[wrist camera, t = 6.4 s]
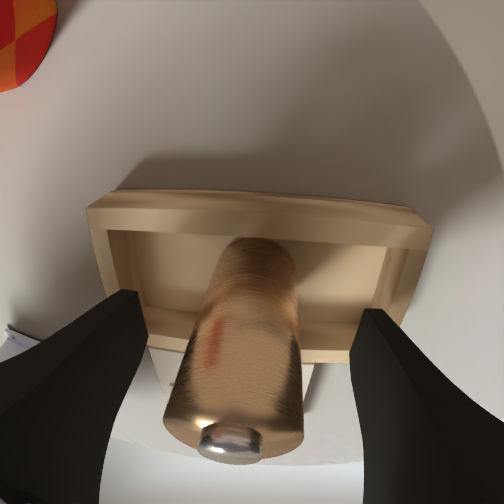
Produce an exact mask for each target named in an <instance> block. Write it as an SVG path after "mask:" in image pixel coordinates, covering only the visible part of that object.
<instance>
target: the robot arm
mask: <svg viewBox="0 0 504 504" xmlns="http://www.w3.org/2000/svg"><path fill="white" fill-rule="evenodd" d="M4 333H5V335H6V337H7V340H6V341H5V343H4V344H3V345H2V346H1V348H0V504H99V491H100V483H101V476H102V470H103V464H104V459H105V455H106V450H107V446H108V442H109V438H110V435H111V431H112V428H113V424H114V421H115V418H116V416H117V413H118V411H119V408H120V406H121V404H122V402H123V399H124V397H125V395H126V393H127V391H128V388H129V386H130V384H131V382H132V380H133V378H134V375H135V373H136V371H137V369H138V367H139V364H140V362H141V360H142V356H143V353H144V350H145V347H146V344H147V340H148V337H149V335H148V331H147V327H146V324H145V320H144V316H143V312H142V308H141V304H140V299H139V295H138V291H135V290H128V289H121V290H119V291H117V292H115V293H114V294H112V295H111V296H109V297H108V298H106V299H105V300H103V301H102V302H100V303H99V304H97V305H96V306H95V307H93V308H92V309H90V310H89V311H87V312H86V313H84V314H83V315H82V316H80V317H79V318H77V319H76V320H74V321H73V322H72V323H70V324H68V325H67V326H65V327H64V328H62V329H61V330H59V331H58V332H56V333H55V334H53V335H52V336H50V337H49V338H47V339H45V340H44V341H42V342H40V341H37V340H35V339H32V338H29V337H27V336H24V335H22V334H19V333H17V332H15V331H12V330H10V329H7V328H6V329H5V330H4ZM349 360H350V372H351V382H352V387H353V392H354V397H355V402H356V407H357V412H358V417H359V423H360V428H361V434H362V440H363V450H364V496H363V504H504V422H502V421H501V420H499V419H498V418H496V417H495V416H493V415H492V414H490V413H489V412H488V411H486V410H485V409H484V408H482V407H481V406H480V405H478V404H477V403H476V402H474V401H473V400H472V399H471V398H469V397H468V396H467V395H466V394H465V393H464V392H462V391H461V390H460V389H459V388H458V387H457V386H456V385H454V384H453V383H452V382H451V381H450V380H449V379H448V378H447V377H446V376H445V375H444V374H443V373H442V372H441V371H440V370H439V369H438V368H437V367H436V366H435V365H434V364H433V363H432V362H431V361H430V360H429V359H428V358H427V357H426V356H425V355H424V354H423V352H422V351H421V350H420V349H419V348H418V347H417V346H416V345H415V344H414V343H413V342H412V340H411V339H410V338H409V337H408V336H407V335H406V334H405V333H404V332H403V331H402V329H401V328H400V327H399V326H398V325H397V324H396V323H395V322H394V321H393V320H392V318H391V317H390V316H389V315H388V314H387V313H386V312H385V311H384V310H383V309H374V308H364V311H363V314H362V317H361V320H360V323H359V326H358V329H357V332H356V335H355V338H354V341H353V343H352V346H351V349H350V351H349Z"/></svg>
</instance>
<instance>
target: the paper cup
mask: <svg viewBox="0 0 504 504" xmlns="http://www.w3.org/2000/svg"><path fill="white" fill-rule="evenodd" d="M57 13H58V12H57V4H56V1H55V0H0V92H4V91H7V90H11V89H14V88H17V87H19V86H20V85H22V84H23V83H25V82H26V81H27V80H28V79H29V78H30V77H31V76H32V74H33V73H34V72H35V71H36V69H37V68H38V67H39V65H40V63H41V62H42V60H43V58H44V56H45V55H46V53H47V50H48V48H49V46H50V44H51V41H52V38H53V35H54V32H55V28H56V23H57Z"/></svg>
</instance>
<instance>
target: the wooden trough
mask: <svg viewBox="0 0 504 504" xmlns="http://www.w3.org/2000/svg"><path fill="white" fill-rule="evenodd" d="M86 213H87V219H88V224H89V229H90V234H91V239H92V244H93V248H94V252H95V257H96V261H97V265H98V269H99V273H100V276H101V280H102V284H103V287H104V291H105V294H106V298H108V297H109V296H111V295H112V294H114V293H115V292H117V291H119V290H121V289H128V290H135V291H138V295H139V299H140V304H141V308H142V312H143V316H144V320H145V324H146V327H147V331H148V335H149V337H148V340H147V344H146V345H148V346H153V347H159V348H165V349H171V350H178V351H184V352H185V350H186V347H187V345H188V342H189V339H190V336H191V333H192V330H193V327H194V325H195V322H196V319H197V316H198V313H199V311H200V308H201V305H202V302H203V300H204V297H205V294H206V291H207V289H208V286H209V283H210V280H211V278H212V275H213V272H214V270H215V267H216V264H217V262H218V259H219V257H220V255H221V253H222V252H223V251H224V249H225V248H226V247H228V246H229V245H230V244H232V243H234V242H235V241H238V240H240V239H244V238H250V237H254V238H265V239H269V240H271V241H274V242H276V243H277V244H279V245H280V246H282V247H283V248H284V249H285V250H286V251H287V252H288V253H289V254H290V256H291V257H292V259H293V262H294V265H295V271H296V283H297V296H298V310H299V325H300V342H301V360H302V362H313V363H350V360H349V351H350V349H351V346H352V343H353V341H354V338H355V335H356V332H357V329H358V326H359V323H360V320H361V317H362V314H363V311H364V308H374V309H383V310H384V311H385V312H386V313H387V314H388V315H389V316H390V317H391V318H392V320H393V321H394V322H395V323H396V324H397V325H398V326H399V327H400V325H401V323H402V320H403V318H404V316H405V313H406V311H407V308H408V306H409V303H410V301H411V298H412V295H413V293H414V290H415V287H416V285H417V282H418V279H419V276H420V273H421V270H422V267H423V264H424V261H425V258H426V255H427V252H428V249H429V245H430V242H431V238H432V235H433V231H434V229H433V228H432V227H431V226H430V225H428V224H427V223H426V222H425V221H424V220H423V219H422V218H421V217H420V216H419V215H418V214H416V213H415V212H414V211H413V210H412V209H411V208H410V207H404V206H397V205H390V204H382V203H374V202H365V201H356V200H347V199H337V198H327V197H316V196H304V195H291V194H277V193H261V192H242V191H218V190H175V189H135V190H114V191H112V192H110V193H109V194H107V195H105V196H104V197H102V198H101V199H99V200H97V201H96V202H94V203H93V204H91V205H90V206H88V207H87V208H86Z"/></svg>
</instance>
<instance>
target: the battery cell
mask: <svg viewBox="0 0 504 504" xmlns="http://www.w3.org/2000/svg"><path fill="white" fill-rule="evenodd" d="M163 423H164V425H165V427H166V429H167V430H168V431H169V432H170V433H171V434H172V435H173V436H174V437H175V438H177V439H178V440H179V441H181V442H183V443H184V444H186V445H188V446H190V447H192V448H195V449H197V450H198V452H199V453H200V454H201V455H203V456H204V457H206V458H208V459H211V460H213V461H217V462H220V463H226V464H234V465H246V464H253V463H256V462H259V461H260V460H261V459H264V458H271V457H276V456H280V455H283V454H286V453H288V452H290V451H292V450H294V449H296V448H297V447H298V446H299V445H300V444H301V443H302V441H303V439H304V413H303V383H302V360H301V342H300V325H299V310H298V296H297V283H296V271H295V265H294V262H293V259H292V257H291V256H290V254H289V253H288V252H287V251H286V250H285V249H284V248H283V247H282V246H280V245H279V244H277V243H276V242H274V241H271V240H269V239H265V238H254V237H250V238H244V239H240V240H238V241H235V242H234V243H232V244H230V245H229V246H228V247H226V248H225V249H224V251H223V252H222V253H221V255H220V257H219V259H218V262H217V264H216V267H215V270H214V272H213V275H212V278H211V280H210V283H209V286H208V289H207V291H206V294H205V297H204V300H203V302H202V305H201V308H200V311H199V313H198V316H197V319H196V322H195V325H194V327H193V330H192V333H191V336H190V339H189V342H188V345H187V347H186V350H185V353H184V356H183V359H182V362H181V365H180V368H179V371H178V374H177V377H176V380H175V383H174V386H173V389H172V392H171V395H170V398H169V401H168V404H167V407H166V410H165V413H164V416H163Z"/></svg>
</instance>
